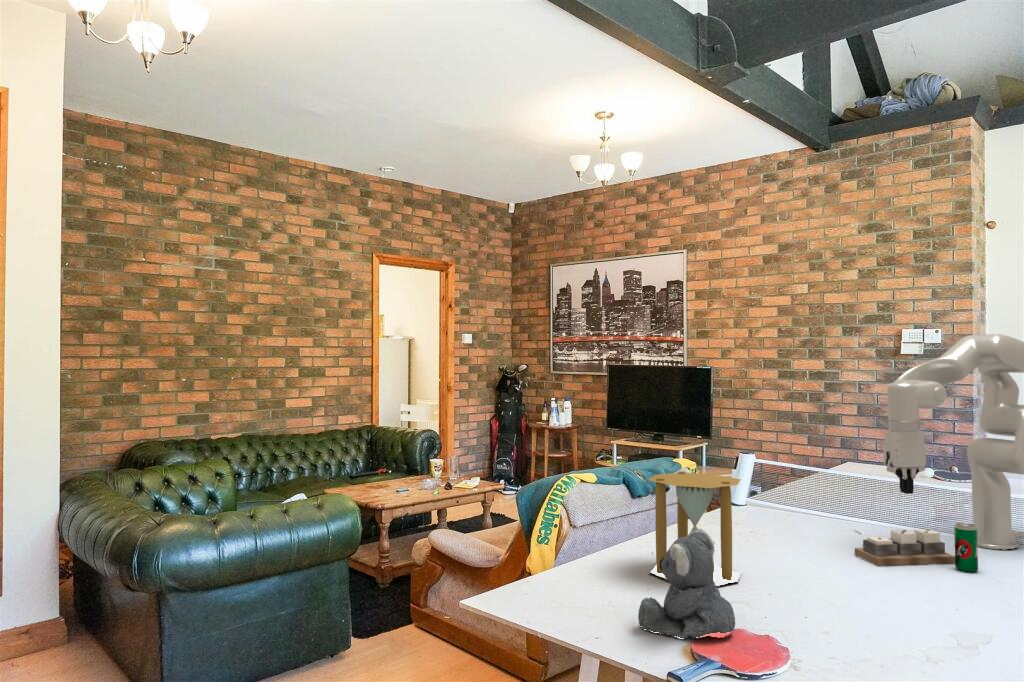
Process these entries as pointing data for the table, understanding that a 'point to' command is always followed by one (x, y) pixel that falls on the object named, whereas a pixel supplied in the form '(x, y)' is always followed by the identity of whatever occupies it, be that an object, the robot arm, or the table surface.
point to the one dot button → (879, 540)
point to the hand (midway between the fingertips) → (906, 492)
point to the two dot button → (927, 536)
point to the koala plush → (689, 592)
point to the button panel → (905, 553)
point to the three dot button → (903, 536)
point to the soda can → (966, 547)
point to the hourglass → (694, 510)
